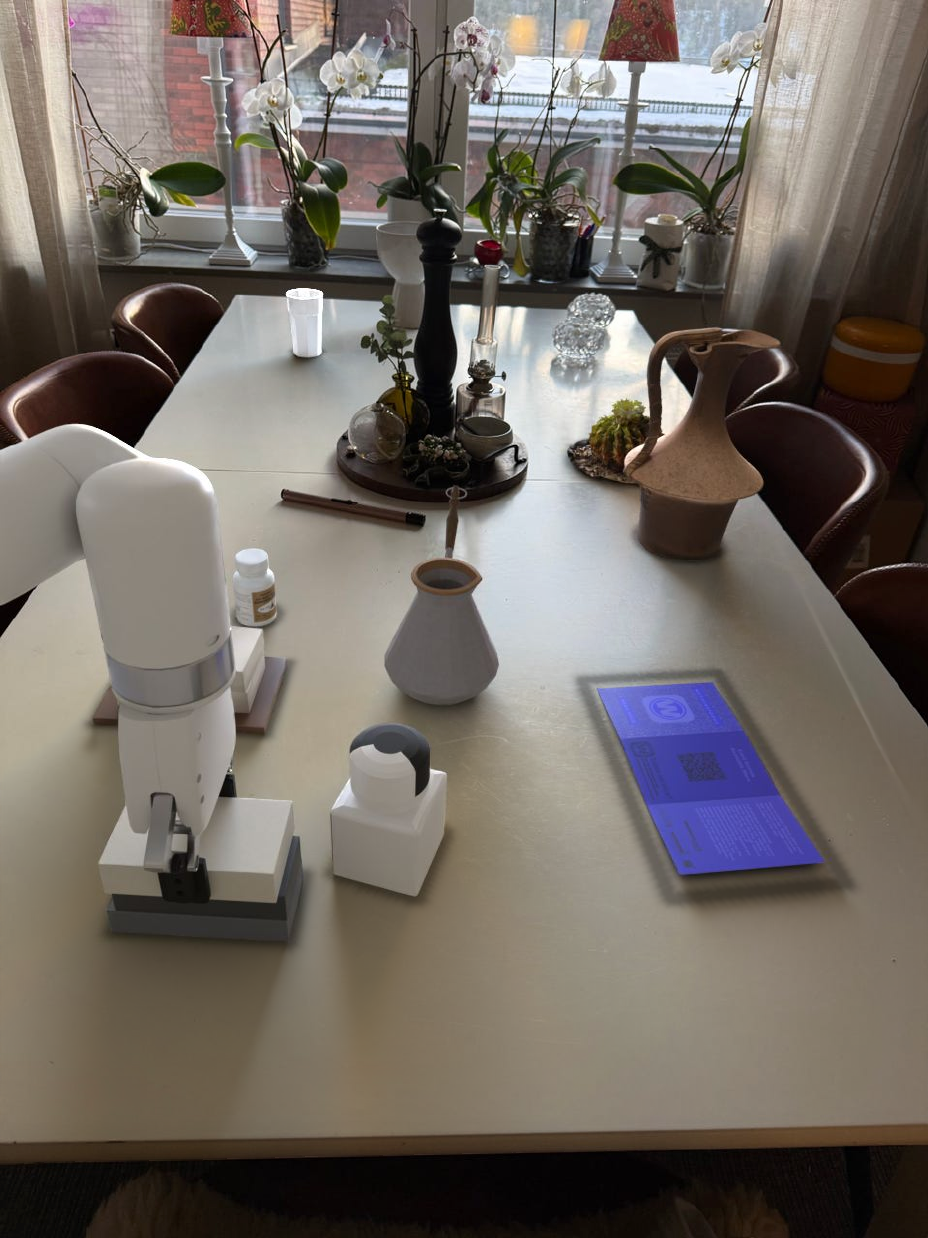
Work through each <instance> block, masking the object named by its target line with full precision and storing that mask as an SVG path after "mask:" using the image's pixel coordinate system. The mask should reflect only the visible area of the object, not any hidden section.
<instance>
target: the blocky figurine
mask: <svg viewBox="0 0 928 1238" xmlns="http://www.w3.org/2000/svg"><path fill="white" fill-rule="evenodd" d="M431 750H432V749H431V745H430V742H429V740H428V739H427V738H426V737H425V735H424V734H422V733H421V732H420V731H419V730H417V729H415V727H412V726H409V725H407V724H403V723H398V722H384V723H378V724H374V725H371V726H370V727H367V728H365V729H364V730H362V731H361V732H359V734H357V735H356V736H355V737H354V739H353V740H352V742H351V744H350V746H349V779H348V780H347V782H346V784H345V785H344V787H343V788H342V791H340V794H339V795H338V797H337V799H336V800H335V802H334V803H333V806H332V807H331V809H330V812H329V818H330V839H331V840H330V841H331V859H332V873H333V875H335V876H338V877H341V878H344V879H348V880H352V881H355V882H359V883H363V884H368V885H369V886H373V887H377V888H381V889H385V890H388V891H392V892H396V893H399V894H403V895H405V896H406V895H407V896H410V897H417V896H418V895H419V893H420V891H421V889H422V886H423V884H424V882H425V879H426V877H427V875H428V873H429V870H430V868H431V865H432V863H433V861H434V858H435V857H436V854H437V852H438V849H439V847H440V845H441V842H442V840H443V838H444V836H445V823H446V822H445V821H446V805H447V804H446V802H447V801H446V799H447V784H448V783H447V782H448V781H447V779H448V776H447V773H446V772H444V771H442V770H438V769H437V770H436V769H432V768H431V757H432V756H431V755H432V754H431V753H432V751H431Z"/></svg>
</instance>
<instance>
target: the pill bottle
mask: <svg viewBox="0 0 928 1238" xmlns="http://www.w3.org/2000/svg"><path fill="white" fill-rule="evenodd" d="M234 564H235V565H234V566H235V572H234V573H233V576H232V588H233V589H232V590H233V596H234V597H233V598H234V606H235V607H234V608H235V617H236V620H237V621H238V623H240V624H241V625H244V626H246V627H252V628H255V627H256V628H258V627H262V626H263V627H264V626H266V625H269V624H271V623H273V622H274V621H275V619H276V618H277V615H278V612H277V595H276V582H275V575H274V572H273V571H272V570H271V569H270V565H269V556H268V553H267V552H266V551H264V550H263V549H259V548H248V549H243V550H241V551H239V552H237V553H236V554H235V556H234Z"/></svg>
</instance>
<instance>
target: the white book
mask: <svg viewBox="0 0 928 1238" xmlns="http://www.w3.org/2000/svg"><path fill="white" fill-rule="evenodd" d="M293 804H294V803H293V801H292V800H282V799H262V798H248V797H246V798H245V797H237V798H231V797H218V799H217V801H216V804H215V807H214V810H213V812H212V815H211V818H210V820H209V823H208V825H207V827H206V828H205V829H204V830H203V831H202V832H201V833H200V857H202V858H205V860H206V866H207V873H208V879H209V886H210V892H211V896H210V899H214V900H231V901H248V902H266V903H276V902H277V898H278V894H279V890H280V886H281V882H282V878H283V874H284V870H285V866H286V862H287V858H288V854H289V849H290V845H291V841H292V837H293V836H294V833H295V815H294V805H293ZM175 820H180V818H179V817H178V815H177V812H176V819H175ZM148 831H149V828H148V830H147V833H146V834H141V833H134V832H133V830H132V829H131V826H130V823H129V819H128V813H127V807H126V804H124V807H123V809H122V811H121V813H120V815H119V818H118V820H117V822H116V824H115V826H114V828H113V831H112V832H111V834H110V837H109V839H108V841H107V843H106V845H105V848H104V850H103V852H102V854H101V856H100V859H99V860H98V863H97V867H98V871H99V874H100V879H101V882H102V886H103V887H102V888H103V891H104V894H109V895H112V894H128V895H145V896H162V893H161V888H160V883H159V878H158V873H157V872H150V871H145V870H144V867H143V864H144V857H145V850H146V844H147V838H148ZM171 849H172V851H182V852H187V835H186V834H173V839H172V847H171Z"/></svg>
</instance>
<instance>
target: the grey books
mask: <svg viewBox="0 0 928 1238" xmlns="http://www.w3.org/2000/svg"><path fill="white" fill-rule="evenodd" d="M303 871H304V870H303V858H302V849H301V837H300V835H293V837H292V841H291V845H290V849H289V854H288V858H287V862H286V866H285V870H284V874H283V878H282V882H281V886H280V890H279V894H278V898H277V902H276V903H266V902H248V901H231V900H214V899H210V900H209V902H208V903H206V904H200V903H176V902H167V901H165V900H164V899H163V898H162V896H145V895H128V894H111V899H110V901H109V903H108V906H107V908H106V915H107V919H108V923H109V927H110V930H111V932H112V933H127V934H144V935H161V936H163V935H164V936H178V937H179V936H182V937H197V938H214V939H215V938H216V939H232V940H248V941H264V942H265V941H266V942H281V943H282V942H283V943H284V942H285V943H289V942H290V939H291V934H292V931H293V925H294V920H295V917H296V911H297V907H298V903H299V898H300V894H301V890H302V885H303V881H304V872H303Z"/></svg>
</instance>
